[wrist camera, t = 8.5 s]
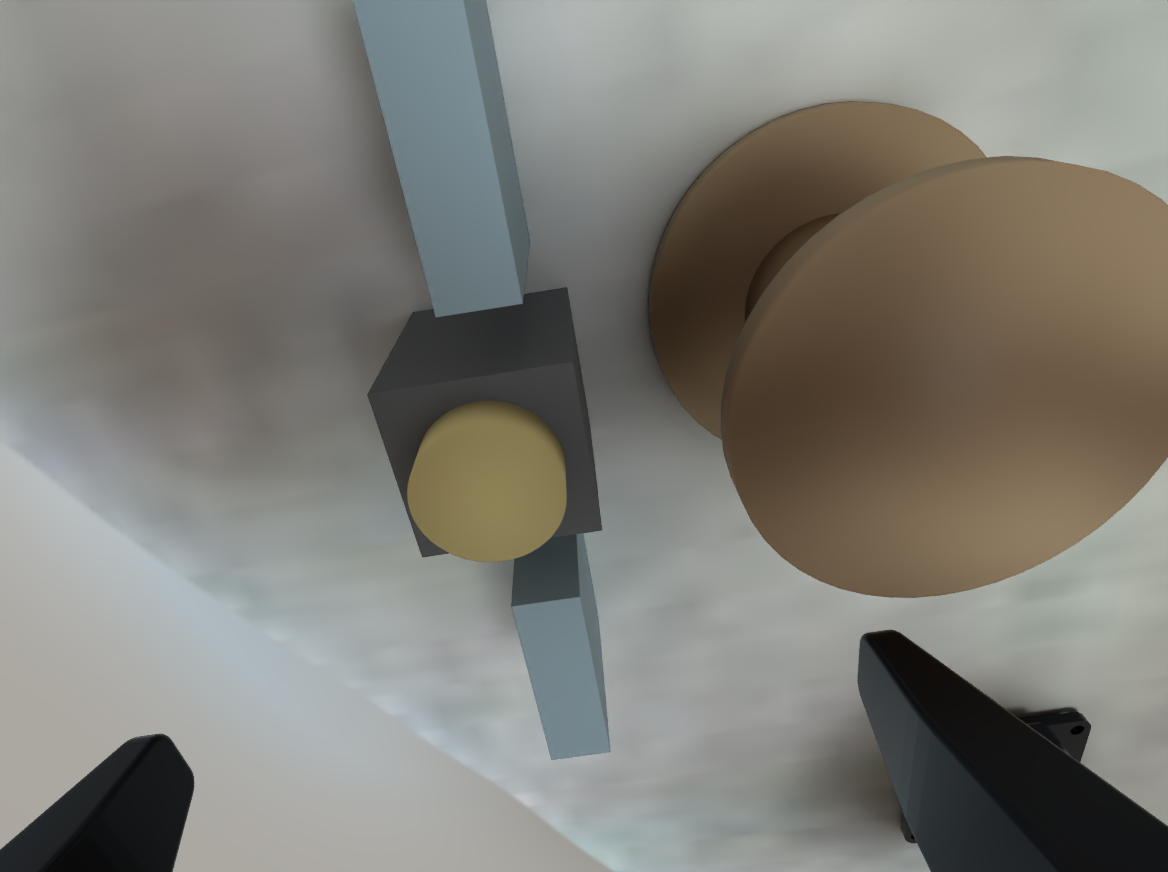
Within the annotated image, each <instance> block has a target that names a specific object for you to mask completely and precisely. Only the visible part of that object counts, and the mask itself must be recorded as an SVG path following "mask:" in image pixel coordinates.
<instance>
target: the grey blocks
mask: <svg viewBox="0 0 1168 872" xmlns="http://www.w3.org/2000/svg"><path fill="white" fill-rule="evenodd" d="M353 3H354V7H355V11H356V15H357V19H358V22H359V26H360V30H361V34H362V38H363V42H364V45H365V49H366V53H367V57H368V61H369V64H370V68H371V72H372V76H373V80H374V84H375V87H376V91H377V95H378V99H379V103H380V107H381V110H382V114H383V118H384V122H385V126H386V129H387V133H388V137H389V141H390V145H391V149H392V152H393V156H394V160H395V164H396V168H397V172H398V175H399V179H400V183H401V187H402V191H403V194H404V198H405V202H406V206H407V210H408V214H409V217H410V221H411V225H412V229H413V233H414V237H415V240H416V244H417V248H418V252H419V256H420V259H421V263H422V267H423V271H424V275H425V279H426V282H427V286H428V290H429V294H430V298H431V302H432V305H433V309H434V313H435V317H441V316H448V315H454V314H460V313H467V312H473V311H480V310H486V309H492V308H499V307H505V306H511V305H518V304H523V297H524V288H525V279H526V271H527V262H528V253H529V244H530V240H529V234H528V229H527V223H526V218H525V212H524V207H523V201H522V196H521V190H520V185H519V179H518V174H517V168H516V163H515V157H514V152H513V147H512V141H511V136H510V130H509V125H508V119H507V114H506V108H505V103H504V97H503V92H502V86H501V81H500V75H499V70H498V64H497V59H496V53H495V48H494V42H493V37H492V31H491V26H490V20H489V15H488V9H487V4H486V0H353ZM511 607H512V611H513V615H514V619H515V623H516V627H517V630H518V634H519V638H520V642H521V646H522V649H523V653H524V657H525V661H526V665H527V669H528V672H529V676H530V680H531V684H532V688H533V692H534V695H535V699H536V703H537V707H538V711H539V714H540V718H541V722H542V726H543V730H544V734H545V737H546V741H547V745H548V749H549V753H550V757H551V760H555V759H563V758H570V757H577V756H585V755H592V754H599V753H607V752H610V742H609V730H608V719H607V708H606V696H605V685H604V674H603V663H602V651H601V640H600V629H599V618H598V613H597V607H596V602H595V596H594V591H593V585H592V580H591V574H590V569H589V564H588V558H587V553H586V547H585V542H584V536H583V533H581V534H574V535H567V536H561V537H554V538H550V539H549V540H548V541H547V542H545V543H544V544H543V545H542V546H540V547H539V548H537V549H536V550H534V551H532V552H531V553H528V554H526V555H524V556H521V557H518V558H515V562H514V576H513V590H512V604H511Z"/></svg>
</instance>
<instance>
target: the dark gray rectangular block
mask: <svg viewBox="0 0 1168 872" xmlns="http://www.w3.org/2000/svg"><path fill="white" fill-rule="evenodd" d="M367 395H368V398H369V401H370V404H371V407H372V410H373V413H374V416H375V419H376V421H377V424H378V427H379V430H380V433H381V436H382V439H383V442H384V445H385V448H386V451H387V454H388V457H389V460H390V463H391V466H392V469H393V472H394V475H395V478H396V481H397V484H398V487H399V490H400V493H401V496H402V499H403V502H404V505H405V508H406V511H407V513H408V516H409V519H410V522H411V525H412V528H413V531H414V534H415V537H416V540H417V543H418V546H419V549H420V552H421V555H422V557H428V556H434V555H441V554H448V553H451V554H453V555H455V556H458V557H461V558H464V559H468V560H473V561H481V562H499V561H506V560H511V559H515V558H518V557H521V556H524V555H526V554H528V553H531V552H532V551H534V550H536V549H537V548H539V547H540V546H542V545H543V544H544V543H545V542H547V541H548V540H549V539H550V538H554V537H561V536H567V535H574V534H581V533H587V532H594V531H601V530H602V525H601V517H600V508H599V499H598V490H597V482H596V473H595V464H594V455H593V447H592V438H591V429H590V422H589V416H588V410H587V404H586V398H585V392H584V386H583V380H582V374H581V368H580V362H579V356H578V350H577V344H576V338H575V332H574V326H573V320H572V314H571V308H570V302H569V296H568V290H567V287H566V288H560V289H554V290H547V291H541V292H535V293H529V294H524V297H523V304H518V305H511V306H505V307H499V308H492V309H486V310H480V311H473V312H467V313H460V314H454V315H448V316H441V317H435V313H434V309H430V310H424V311H418V312H413V313H412V315H411V317H410V318H409V320H408V322H407V324H406V326H405V328H404V329H403V331H402V333H401V335H400V337H399V338H398V340H397V342H396V344H395V346H394V347H393V349H392V351H391V353H390V355H389V356H388V358H387V360H386V362H385V364H384V366H383V367H382V369H381V371H380V373H379V375H378V376H377V378H376V380H375V382H374V384H373V385H372V387H371V389H370V391H369V393H368V394H367Z"/></svg>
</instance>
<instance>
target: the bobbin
mask: <svg viewBox="0 0 1168 872" xmlns="http://www.w3.org/2000/svg"><path fill="white" fill-rule="evenodd" d="M649 322H650V328H651V334H652V340H653V344H654V347H655V350H656V353H657V356H658V359H659V362H660V365H661V367H662V370H663V373H664V375H665V377H666V379H667V381H668V383H669V385H670V387H671V389H672V391H673V393H674V394H675V396H676V397H677V398H678V400H679V401H680V403H681V404H682V406H683V407H684V408H685V409H686V410H687V411H688V413H689V414H690V415H691V416H692V417H693V418H694V419H695V420H696V421H697V422H698V423H699V424H700V425H702V426H703V427H704V428H705V429H707V430H708V431H709V432H711V433H712V434H713V435H715V436H717V437H718V438H720V439H722V443H723V451H724V456H725V459H726V462H727V466H728V469H729V472H730V476H731V478H732V480H733V483H734V485H735V487H736V489H737V492H738V494H739V496H740V499H741V501H742V503H743V505H744V507H745V509H746V511H747V513H748V515H749V517H750V519H751V521H752V523H753V524H754V526H755V527H756V528H757V530H758V531H759V533H760V534H761V535H762V537H763V538H764V540H765V541H766V542H767V543H768V544H769V545H770V546H771V547H772V548H773V549H774V550H775V551H776V552H777V553H778V554H779V555H780V556H781V557H782V558H784V559H785V560H787V561H788V562H789V563H791V564H792V565H793V566H795V567H796V568H797V569H799V570H800V571H802V572H804V573H806V574H808V575H810V576H811V577H813V578H815V579H817V580H819V581H822V582H824V583H827V584H829V585H832V586H835V587H837V588H840V589H844V590H848V591H852V592H856V593H861V594H865V595H873V596H882V597H899V598H917V597H928V596H939V595H946V594H951V593H956V592H962V591H967V590H971V589H975V588H978V587H982V586H985V585H989V584H992V583H996V582H998V581H1001V580H1004V579H1006V578H1009V577H1011V576H1014V575H1017V574H1019V573H1022V572H1024V571H1026V570H1028V569H1030V568H1033V567H1035V566H1037V565H1039V564H1041V563H1043V562H1045V561H1047V560H1049V559H1051V558H1053V557H1054V556H1056V555H1058V554H1059V553H1061V552H1063V551H1064V550H1066V549H1068V548H1070V547H1071V546H1073V545H1075V544H1076V543H1078V542H1079V541H1080V540H1082V539H1083V538H1085V537H1086V536H1087V535H1089V534H1090V533H1092V532H1093V531H1095V530H1096V529H1097V528H1099V527H1100V526H1101V525H1103V524H1104V523H1105V522H1106V521H1107V520H1108V519H1110V518H1111V517H1112V516H1113V515H1114V514H1116V513H1117V512H1118V511H1119V510H1120V509H1121V508H1123V507H1124V506H1125V505H1126V504H1127V503H1128V502H1129V501H1130V500H1131V499H1132V498H1133V497H1134V496H1135V495H1136V494H1137V493H1138V492H1139V491H1140V490H1141V489H1142V488H1143V487H1144V486H1145V485H1146V483H1147V482H1148V481H1149V480H1150V479H1151V477H1152V476H1153V475H1154V474H1155V472H1156V471H1157V470H1158V469H1159V468H1160V466H1161V465H1162V464H1163V463H1164V462H1165V460H1166V459H1167V457H1168V205H1167V204H1166V203H1165V202H1164V201H1163V200H1162V199H1161V198H1159V197H1157V196H1156V195H1154V194H1153V193H1151V192H1149V191H1148V190H1146V189H1145V188H1143V187H1141V186H1140V185H1138V184H1137V183H1135V182H1132V181H1130V180H1127V179H1125V178H1122V177H1120V176H1117V175H1115V174H1112V173H1109V172H1107V171H1103V170H1098V169H1093V168H1088V167H1084V166H1079V165H1074V164H1069V163H1063V162H1058V161H1053V160H1047V159H1042V158H1032V157H1013V156H1000V157H989V158H987V157H986V156H985V155H984V153H983V152H982V151H981V150H980V148H979V147H978V146H977V145H976V144H974V143H973V142H972V141H971V140H970V139H969V138H968V137H966V136H965V135H964V134H963V133H962V132H961V131H959V130H958V129H956V128H954V127H953V126H951V125H949V124H948V123H946V122H944V121H943V120H941V119H939V118H936V117H934V116H931V115H929V114H926V113H924V112H921V111H919V110H916V109H911V108H906V107H902V106H897V105H892V104H883V103H872V102H854V101H850V102H839V103H828V104H822V105H818V106H814V107H810V108H805V109H801V110H798V111H795V112H793V113H790V114H787V115H785V116H782V117H780V118H777V119H774V120H773V121H771V122H769V123H767V124H765V125H763V126H761V127H760V128H758V129H756V130H754V131H752V132H750V133H749V134H747V135H746V136H745V137H743V138H742V139H740V140H739V141H738V142H736V143H735V144H733V145H732V146H731V147H729V148H728V149H727V150H726V151H725V152H723V153H722V154H721V155H720V156H719V157H718V158H717V159H716V160H715V161H714V162H712V163H711V164H710V165H709V166H708V167H707V168H706V169H705V171H704V172H703V173H702V174H701V175H700V176H699V178H698V179H697V180H696V181H695V182H694V183H693V184H692V186H691V187H690V188H689V190H688V191H687V193H686V194H685V196H684V197H683V199H682V200H681V202H680V203H679V205H678V206H677V208H676V209H675V211H674V213H673V215H672V217H671V219H670V221H669V223H668V225H667V227H666V229H665V231H664V233H663V236H662V239H661V242H660V244H659V247H658V250H657V253H656V256H655V260H654V265H653V269H652V273H651V279H650V289H649Z"/></svg>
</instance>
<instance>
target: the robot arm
mask: <svg viewBox="0 0 1168 872" xmlns="http://www.w3.org/2000/svg"><path fill="white" fill-rule="evenodd" d="M858 687H859V692H860V696H861V699H862V702H863V704H864V707H865V710H866V712H867V715H868V718H869V721H870V723H871V726H872V729H873V732H874V734H875V737H876V740H877V743H878V745H879V748H880V751H881V753H882V756H883V759H884V762H885V764H886V767H887V770H888V773H889V775H890V778H891V781H892V784H893V786H894V789H895V792H896V795H897V797H898V800H899V802H900V805H901V808H902V810H903V813H902V821H901V831H902V833H903V836H904V838H905V840H906V841H907V842H910V843H917V844H918V846H919V848H920V850H921V852H922V854H923V856H924V858H925V860H926V862H927V865H928V867H929V869H930V871H931V872H1168V826H1167V825H1166V824H1164V823H1163V822H1162V821H1160V820H1159V819H1157V818H1156V817H1155V816H1153V815H1152V814H1150V813H1149V812H1148V811H1146V810H1145V809H1144V808H1142V807H1141V806H1139V805H1138V804H1137V803H1135V802H1134V801H1132V800H1131V799H1130V798H1128V797H1127V796H1126V795H1124V794H1123V793H1121V792H1120V791H1119V790H1117V789H1116V788H1114V787H1113V786H1112V785H1110V784H1109V783H1107V782H1106V781H1105V780H1103V779H1102V778H1101V777H1099V776H1098V775H1096V774H1095V773H1094V772H1092V771H1091V770H1089V769H1088V768H1087V767H1085V766H1084V765H1083V764H1081V763H1080V761H1081V758H1082V755H1083V752H1084V749H1085V745H1086V742H1087V739H1088V736H1089V733H1090V730H1091V725H1090V723H1089V722H1088V721H1087V720H1086V718H1085V717H1084V716H1083V715H1082V714H1081V713H1079V712H1071V713H1063V714H1056V715H1049V716H1041V717H1034V718H1026V719H1019V718H1017V717H1016V716H1015V715H1013V714H1012V713H1011V712H1009V711H1008V710H1006V709H1005V708H1004V707H1002V706H1001V705H999V704H998V703H997V702H995V701H994V700H993V699H991V698H990V697H988V696H987V695H986V694H984V693H983V692H981V691H980V690H979V689H977V688H976V687H975V686H973V685H972V684H970V683H969V682H968V681H966V680H965V679H963V678H962V677H961V676H959V675H958V674H957V673H955V672H954V671H952V670H951V669H950V668H948V667H947V666H945V665H944V664H943V663H941V662H940V661H939V660H937V659H936V658H934V657H933V656H932V655H930V654H929V653H927V652H926V651H925V650H923V649H922V648H920V647H919V646H918V645H916V644H915V643H914V642H912V641H911V640H909V639H908V638H907V637H905V636H904V635H902V634H901V633H899V632H897V631H895V630H885V631H878V632H871V633H866V634H864V635H863V636H862V637H861V640H860V648H859V664H858ZM193 791H194V776H193V772H192V770H191V769H190V767H189V766H188V764H187V763H186V761H185V759H184V758H183V756H182V755H181V753H180V752H179V750H178V749H177V747H176V746H175V744H174V743H173V741H172V740H171V739H170V738H169V737H168V736H166V735H164V734H154V735H147V736H140V737H135V738H132V739H130V740H128V741H127V742H125V743H124V744H123V745H122V746H120V747H119V748H118V749H117V750H116V751H115V752H114V753H112V754H111V755H110V756H109V757H108V758H106V759H105V760H104V761H103V762H102V763H101V764H99V765H98V766H97V767H96V768H95V769H94V770H93V771H91V772H90V773H89V774H88V775H87V776H86V777H84V778H83V779H82V780H81V781H80V782H78V783H77V784H76V785H75V786H74V787H73V788H71V790H69V791H68V792H67V793H66V794H64V795H63V796H62V797H61V798H60V799H59V800H58V801H56V802H55V803H54V804H53V805H52V806H51V807H49V808H48V809H47V810H46V811H45V812H44V813H42V814H41V815H40V816H39V817H38V818H37V819H35V820H34V821H33V822H32V823H31V824H30V825H28V826H27V827H26V828H25V829H24V830H23V831H22V832H20V833H19V834H18V835H17V836H16V837H15V838H13V839H12V840H11V841H10V842H9V843H8V844H6V845H5V846H4V847H3V848H2V849H0V872H173V868H174V864H175V860H176V857H177V853H178V849H179V845H180V841H181V838H182V834H183V830H184V826H185V822H186V819H187V815H188V811H189V807H190V803H191V800H192V796H193Z"/></svg>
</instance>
